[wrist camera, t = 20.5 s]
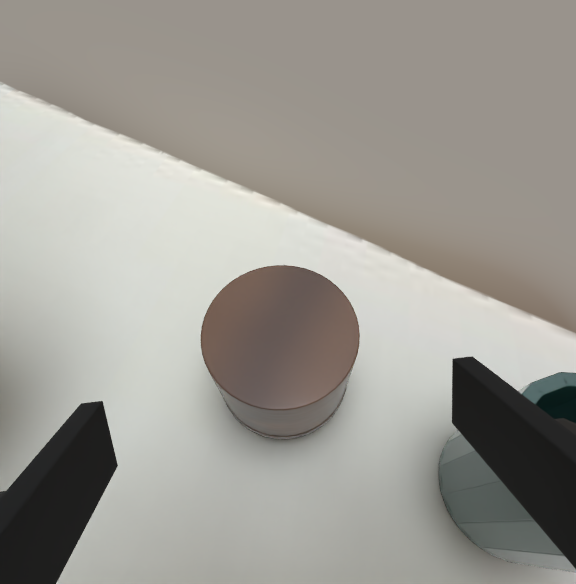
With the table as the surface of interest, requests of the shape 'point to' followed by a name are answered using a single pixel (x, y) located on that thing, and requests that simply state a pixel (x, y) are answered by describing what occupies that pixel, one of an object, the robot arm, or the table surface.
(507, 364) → the table surface
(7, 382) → the table surface
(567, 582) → the table surface
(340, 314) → the lid
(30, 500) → the robot arm
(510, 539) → the canister
